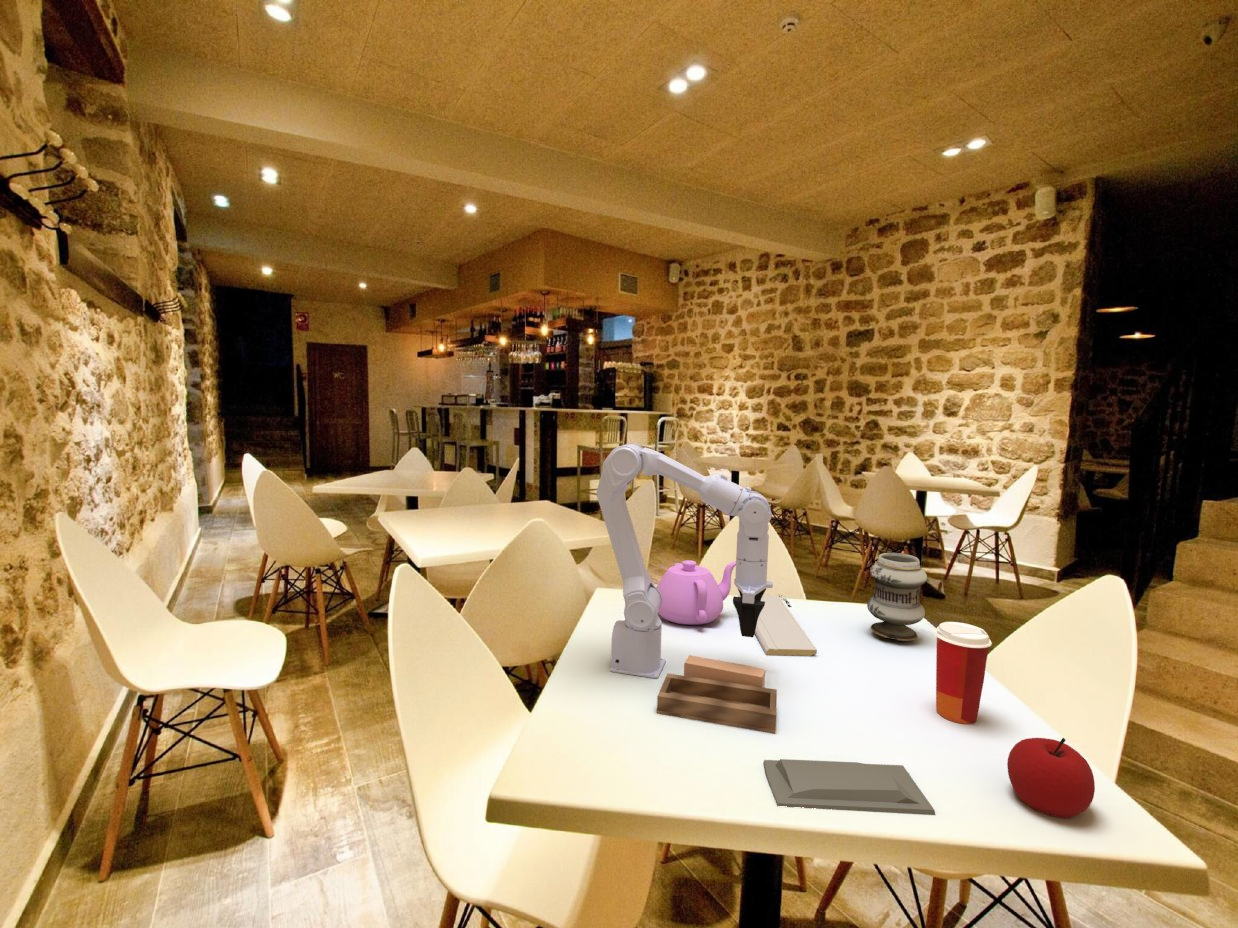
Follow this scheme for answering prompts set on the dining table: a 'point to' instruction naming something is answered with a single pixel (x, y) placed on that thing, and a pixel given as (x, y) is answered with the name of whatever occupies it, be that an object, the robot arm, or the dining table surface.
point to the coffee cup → (960, 670)
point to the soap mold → (845, 786)
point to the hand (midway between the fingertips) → (748, 628)
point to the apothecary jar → (896, 595)
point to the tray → (718, 702)
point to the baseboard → (781, 630)
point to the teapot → (693, 593)
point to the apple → (1051, 777)
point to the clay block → (724, 671)
